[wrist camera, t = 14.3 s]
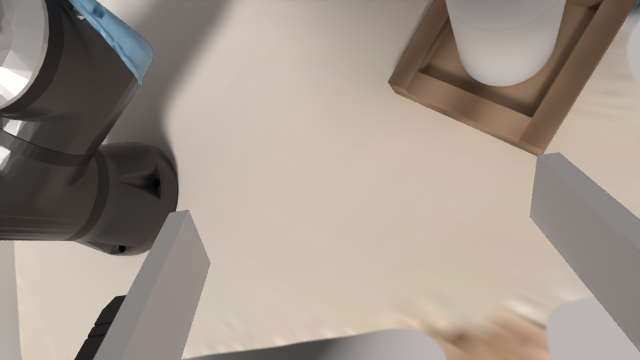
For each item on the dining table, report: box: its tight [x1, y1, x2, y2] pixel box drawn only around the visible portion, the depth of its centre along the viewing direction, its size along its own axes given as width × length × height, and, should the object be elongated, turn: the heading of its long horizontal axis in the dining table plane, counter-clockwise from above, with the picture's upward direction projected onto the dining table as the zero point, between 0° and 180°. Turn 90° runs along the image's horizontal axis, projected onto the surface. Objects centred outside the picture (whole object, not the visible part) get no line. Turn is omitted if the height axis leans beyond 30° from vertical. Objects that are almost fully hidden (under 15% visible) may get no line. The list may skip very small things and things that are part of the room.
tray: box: [388, 0, 637, 156], centre depth 36 cm, size 15×15×3 cm
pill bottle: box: [445, 0, 566, 86], centre depth 30 cm, size 8×8×15 cm
